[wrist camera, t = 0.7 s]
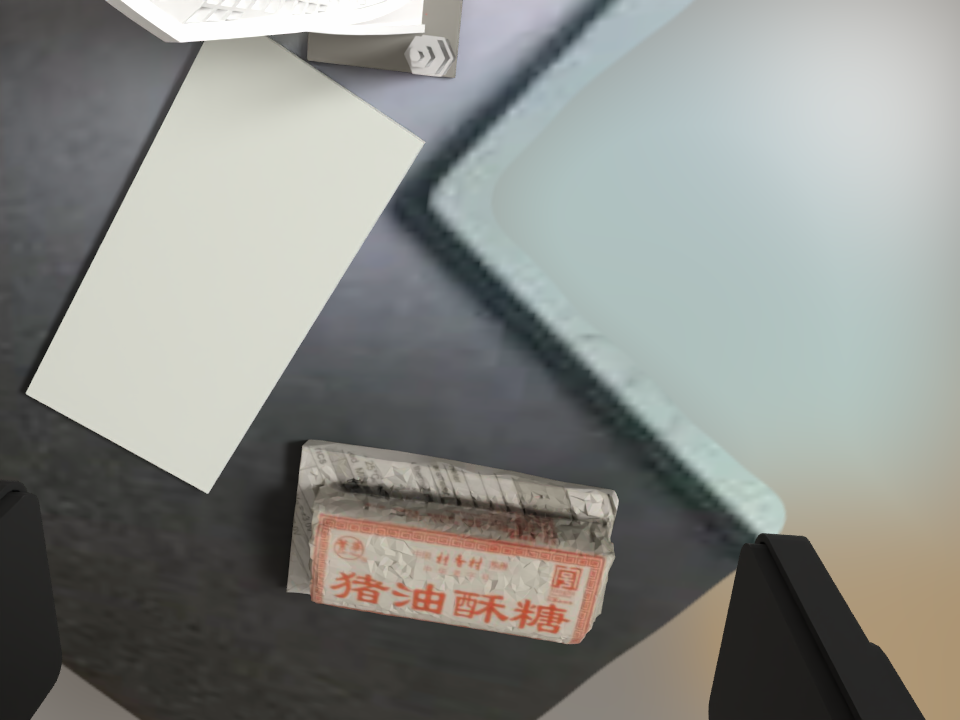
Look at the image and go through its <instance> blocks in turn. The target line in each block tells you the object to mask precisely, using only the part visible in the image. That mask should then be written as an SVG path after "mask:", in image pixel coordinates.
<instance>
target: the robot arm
mask: <svg viewBox="0 0 960 720" xmlns="http://www.w3.org/2000/svg"><path fill="white" fill-rule="evenodd" d="M61 664H62V651H61V645H60V638H59V631H58V625H57V618H56V611H55V605H54V598H53V591H52V585H51V578H50V572H49V565H48V558H47V552H46V545H45V538H44V532H43V525H42V519H41V512H40V505H39V501H38V498H37V497H36V495H34V494H32V493H27V489H26V488H25V486H24V485H23V484H22V483H21V482H19V481H8V480H0V720H30V719H31V718H32V716H33V715H34V714H35V712H36V711H37V709H38V708H39V706H40V705H41V703H42V702H43V701H44V699H45V698H46V696H47V694H48V693H49V692H50V690H51V689H52V688H53V686H54V684H55V683H56V681H57V678H58V676H59V673H60V669H61ZM709 720H925V718H924V717H923V715H922V713H921V712H920V710H919V708H918V707H917V705H916V703H915V702H914V700H913V698H912V697H911V695H910V694H909V692H908V690H907V689H906V687H905V685H904V684H903V682H902V681H901V679H900V677H899V675H898V674H897V672H896V671H895V669H894V668H893V666H892V664H891V662H890V661H889V659H888V657H887V656H886V655H885V653H884V652H883V651H882V650H881V648H880V647H879V646H877V645H875V644H873V643H871V642H869V641H868V639H867V637H866V636H865V634H864V632H863V630H862V629H861V627H860V625H859V624H858V622H857V620H856V619H855V617H854V615H853V614H852V612H851V610H850V608H849V607H848V605H847V604H846V602H845V600H844V598H843V597H842V595H841V593H840V592H839V590H838V588H837V587H836V585H835V583H834V582H833V580H832V578H831V577H830V575H829V573H828V572H827V570H826V568H825V566H824V565H823V563H822V561H821V560H820V558H819V557H818V555H817V553H816V551H815V550H814V548H813V546H812V545H811V543H810V541H809V540H808V539H807V538H806V537H804V536H794V535H780V534H766V533H761V534H760V535H758V537H757V539H756V541H755V544H751V543H746V544H744V545H743V547H742V549H741V552H740V556H739V561H738V566H737V571H736V575H735V580H734V585H733V590H732V594H731V600H730V604H729V609H728V614H727V618H726V623H725V628H724V633H723V638H722V642H721V648H720V653H719V657H718V661H717V666H716V671H715V676H714V681H713V686H712V690H711V695H710V700H709Z"/></svg>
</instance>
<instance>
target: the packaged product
mask: <svg viewBox="0 0 960 720" xmlns="http://www.w3.org/2000/svg"><path fill="white" fill-rule="evenodd" d="M618 502H619V500H618V497H617V494H616V493H615V491H614V490H610V489H605V488H598V487H592V486H586V485H580V484H574V483H565V482H561V481H556V480H551V479H547V478H542V477H537V476H533V475H528V474H524V473H519V472H514V471H509V470H502V469H496V468H491V467H485V466H480V465H475V464H469V463H464V462H459V461H454V460H448V459H443V458H437V457H431V456H425V455H418V454H412V453H407V452H401V451H394V450H387V449H379V448H372V447H365V446H358V445H351V444H344V443H337V442H330V441H322V440H308V441H307V442H306V443H305V444H304V445H303V446H302V453H301V461H300V470H299V480H298V489H297V498H296V506H295V514H294V522H293V532H292V543H291V553H290V564H289V575H288V585H287V592H298V593H305V594H311V601H314V602H316V603H320V604H327V605H332V606H336V607H341V608H347V609H354V610H360V611H367V612H374V613H378V614H384V615H391V616H398V617H406V618H412V619H417V620H423V621H430V622H437V623H443V624H449V625H455V626H461V627H468V628H474V629H480V630H487V631H494V632H499V633H507V634H511V635H517V636H524V637H530V638H534V639H540V640H548V641H553V642H559V643H564V644H577V643H580V642H581V641H582V640H583V638H584V637H585V635H586V633H587V632H588V631H590V630H591V628H592V625H593V622H594V621H595V618H596V617H597V616H598V615H599V614H601V609H602V603H603V598H604V593H605V587H606V583H607V581H608V571H609V569H610V567H611V565H612V563H613V561H614V559H615V554H614V547H613V543H611V540H610V536H611V532H612V528H613V524H614V520H615V517H616V512H617V507H618Z"/></svg>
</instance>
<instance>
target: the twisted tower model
mask: <svg viewBox="0 0 960 720" xmlns="http://www.w3.org/2000/svg"><path fill="white" fill-rule="evenodd" d="M105 1H107V2H108V3H109V4H110V5H112V6H113V7H115V8H116V9H117V10H119V11H120V12H121V13H123V14H124V15H126V16H127V17H128V18H130V19H131V20H133V21H134V22H136V23H137V24H139V25H140V26H142V27H143V28H145V29H146V30H148V31H149V32H151V33H152V34H154V35H155V36H157V37H158V38H160V39H161V40H163V41H164V42H192V41H206V40H219V39H232V38H244V37H255V36H266V35H277V34H288V33H298V32H305V31H307V32H308V47H307V60H308V61H316V62H325V63H333V64H342V65H350V66H359V67H367V68H375V69H384V70H392V71H401V72H409V73H413V74H419V75H427V76H437V77H441V76H443V77H451V78H455V74H456V64H457V53H458V43H459V33H460V22H461V12H462V2H463V0H105Z"/></svg>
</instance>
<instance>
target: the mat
mask: <svg viewBox="0 0 960 720" xmlns="http://www.w3.org/2000/svg"><path fill="white" fill-rule="evenodd" d="M424 144H425V141H424V140H422V139H421V138H419V137H418V136H416V135H415V134H413V133H412V132H410V131H409V130H407V129H406V128H404V127H403V126H401V125H400V124H398V123H397V122H395V121H394V120H392V119H391V118H389V117H388V116H386V115H385V114H383V113H382V112H380V111H379V110H377V109H376V108H374V107H373V106H371V105H370V104H368V103H367V102H365V101H364V100H362V99H361V98H359V97H358V96H356V95H355V94H353V93H352V92H350V91H349V90H347V89H346V88H344V87H343V86H341V85H340V84H338V83H337V82H335V81H334V80H332V79H331V78H329V77H328V76H326V75H325V74H323V73H322V72H320V71H319V70H317V69H316V68H314V67H313V66H311V65H310V64H308V63H307V62H305V61H304V60H302V59H301V58H299V57H298V56H296V55H295V54H293V53H292V52H290V51H289V50H288V49H286V48H285V47H283V46H282V45H280V44H279V43H277V42H276V41H274V40H273V39H271V38H270V37H268V36H267V35H266V36H255V37H244V38H232V39H219V40H206V41H204V43H203V45H202V47H201V49H200V51H199V53H198V55H197V57H196V59H195V61H194V63H193V65H192V67H191V69H190V71H189V73H188V75H187V77H186V79H185V81H184V82H183V84H182V86H181V88H180V90H179V92H178V94H177V96H176V98H175V100H174V102H173V104H172V106H171V108H170V110H169V112H168V114H167V116H166V118H165V120H164V122H163V124H162V126H161V128H160V130H159V132H158V134H157V136H156V138H155V140H154V142H153V144H152V145H151V147H150V149H149V151H148V153H147V155H146V157H145V159H144V161H143V163H142V165H141V167H140V169H139V171H138V173H137V175H136V177H135V179H134V181H133V183H132V185H131V187H130V189H129V191H128V193H127V195H126V197H125V199H124V201H123V203H122V205H121V207H120V209H119V210H118V212H117V214H116V216H115V218H114V220H113V222H112V224H111V226H110V228H109V230H108V232H107V234H106V236H105V238H104V240H103V242H102V244H101V246H100V248H99V250H98V252H97V254H96V256H95V258H94V260H93V262H92V264H91V266H90V268H89V270H88V272H87V274H86V275H85V277H84V279H83V281H82V283H81V285H80V287H79V289H78V291H77V293H76V295H75V297H74V299H73V301H72V303H71V305H70V307H69V309H68V311H67V313H66V315H65V317H64V319H63V321H62V323H61V325H60V327H59V329H58V331H57V333H56V335H55V337H54V338H53V340H52V342H51V344H50V346H49V348H48V350H47V352H46V354H45V356H44V358H43V360H42V362H41V364H40V366H39V368H38V370H37V372H36V374H35V376H34V378H33V380H32V382H31V384H30V386H29V388H28V390H27V392H26V394H27V395H29V396H30V397H32V398H34V399H36V400H38V401H40V402H41V403H43V404H45V405H47V406H49V407H51V408H52V409H54V410H56V411H58V412H60V413H61V414H63V415H65V416H67V417H69V418H71V419H72V420H74V421H76V422H78V423H80V424H82V425H83V426H85V427H87V428H89V429H91V430H92V431H94V432H96V433H98V434H100V435H102V436H103V437H105V438H107V439H109V440H111V441H113V442H114V443H116V444H118V445H120V446H122V447H123V448H125V449H127V450H129V451H131V452H133V453H134V454H136V455H138V456H140V457H142V458H143V459H145V460H147V461H149V462H151V463H153V464H154V465H156V466H158V467H160V468H162V469H164V470H165V471H167V472H169V473H171V474H173V475H174V476H176V477H178V478H180V479H182V480H184V481H185V482H187V483H189V484H191V485H193V486H195V487H196V488H198V489H200V490H202V491H204V492H205V493H207V494H208V493H209V491H210V490H211V488H212V487H213V485H214V483H215V482H216V480H217V478H218V477H219V475H220V474H221V472H222V470H223V469H224V467H225V465H226V464H227V462H228V461H229V459H230V457H231V456H232V454H233V453H234V451H235V449H236V448H237V446H238V444H239V443H240V441H241V440H242V438H243V436H244V435H245V433H246V432H247V430H248V428H249V427H250V425H251V423H252V422H253V420H254V419H255V417H256V415H257V414H258V412H259V411H260V409H261V407H262V406H263V404H264V402H265V401H266V399H267V398H268V396H269V394H270V393H271V391H272V389H273V388H274V386H275V385H276V383H277V381H278V380H279V378H280V377H281V375H282V373H283V372H284V370H285V368H286V367H287V365H288V364H289V362H290V360H291V359H292V357H293V356H294V354H295V352H296V351H297V349H298V347H299V346H300V344H301V343H302V341H303V339H304V338H305V336H306V335H307V333H308V331H309V330H310V328H311V326H312V325H313V323H314V322H315V320H316V318H317V317H318V315H319V313H320V312H321V310H322V309H323V307H324V305H325V304H326V302H327V301H328V299H329V297H330V296H331V294H332V292H333V291H334V289H335V288H336V286H337V284H338V283H339V281H340V280H341V278H342V276H343V275H344V273H345V271H346V270H347V268H348V267H349V265H350V263H351V262H352V260H353V259H354V257H355V255H356V254H357V252H358V250H359V249H360V247H361V246H362V244H363V242H364V241H365V239H366V237H367V236H368V234H369V233H370V231H371V229H372V228H373V226H374V225H375V223H376V221H377V220H378V218H379V216H380V215H381V213H382V212H383V210H384V208H385V207H386V205H387V204H388V202H389V200H390V199H391V197H392V195H393V194H394V192H395V191H396V189H397V187H398V186H399V184H400V183H401V181H402V179H403V178H404V176H405V174H406V173H407V171H408V170H409V168H410V166H411V165H412V163H413V161H414V160H415V158H416V157H417V155H418V153H419V152H420V150H421V149H422V147H423V145H424Z"/></svg>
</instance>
